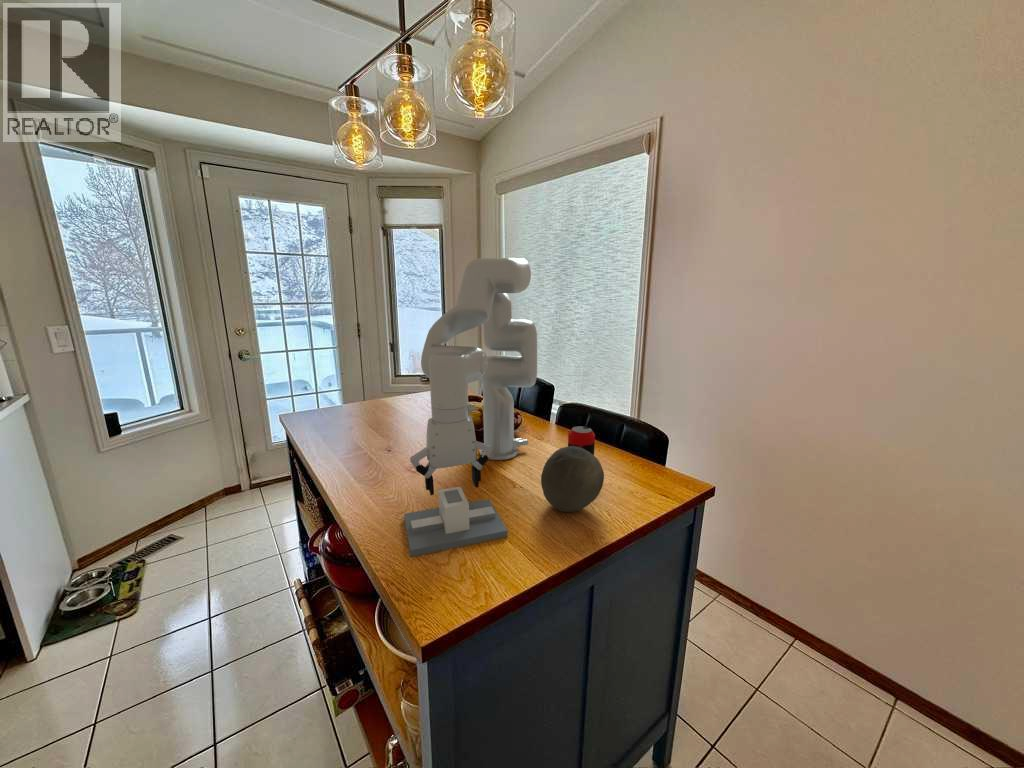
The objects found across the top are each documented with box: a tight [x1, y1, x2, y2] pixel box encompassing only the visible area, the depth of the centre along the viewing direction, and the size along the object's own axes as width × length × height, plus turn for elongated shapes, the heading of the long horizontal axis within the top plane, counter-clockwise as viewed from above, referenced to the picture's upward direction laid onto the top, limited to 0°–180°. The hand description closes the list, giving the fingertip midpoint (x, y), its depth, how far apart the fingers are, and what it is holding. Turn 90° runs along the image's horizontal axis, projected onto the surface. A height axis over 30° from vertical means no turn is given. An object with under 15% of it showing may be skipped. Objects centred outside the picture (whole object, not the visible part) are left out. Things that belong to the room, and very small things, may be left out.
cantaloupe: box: [540, 445, 605, 513], centre depth 94 cm, size 14×14×15 cm
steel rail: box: [411, 506, 495, 533], centre depth 87 cm, size 18×3×1 cm, turn 109°
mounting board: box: [403, 498, 509, 558], centre depth 88 cm, size 20×14×2 cm
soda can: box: [567, 425, 596, 456], centre depth 116 cm, size 8×8×12 cm
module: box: [437, 486, 469, 534], centre depth 87 cm, size 5×8×6 cm, turn 20°
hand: (453, 488), depth 86 cm, fingers open, 9 cm apart
